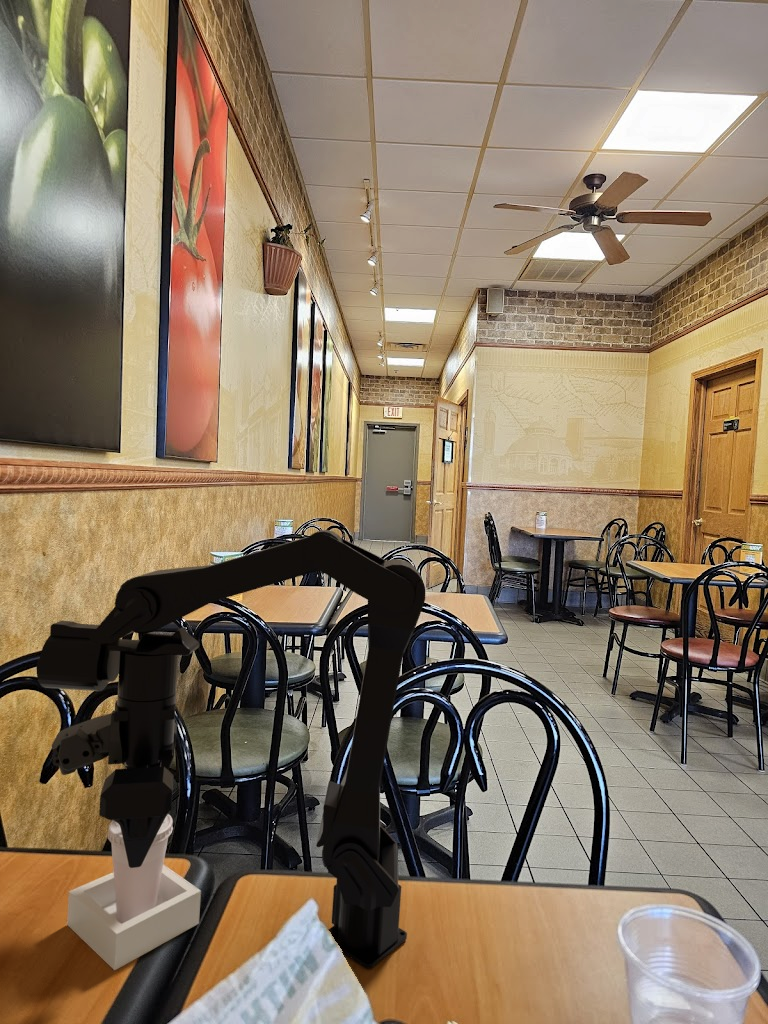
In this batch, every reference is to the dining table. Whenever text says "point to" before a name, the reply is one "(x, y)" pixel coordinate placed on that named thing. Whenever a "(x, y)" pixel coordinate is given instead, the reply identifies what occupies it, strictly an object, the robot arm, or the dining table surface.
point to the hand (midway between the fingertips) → (138, 841)
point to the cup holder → (141, 934)
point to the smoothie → (137, 873)
